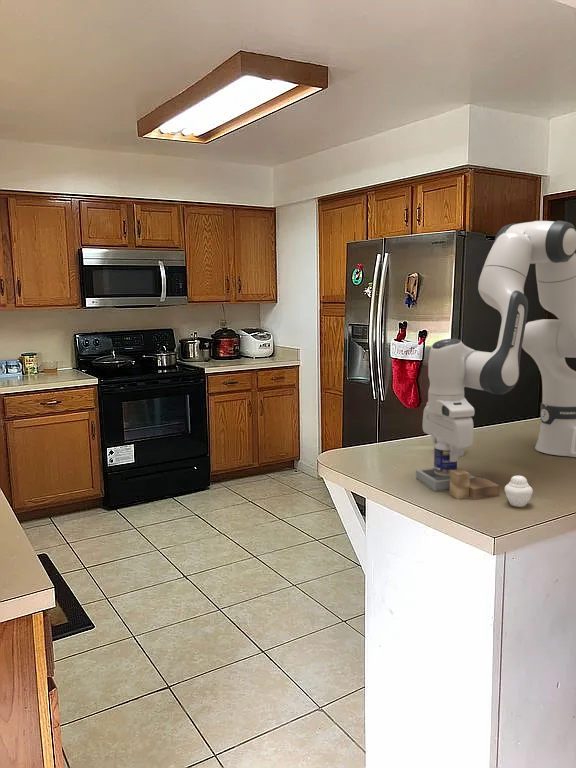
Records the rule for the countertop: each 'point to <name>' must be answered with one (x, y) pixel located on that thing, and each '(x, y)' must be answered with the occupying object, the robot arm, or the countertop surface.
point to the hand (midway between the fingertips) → (445, 457)
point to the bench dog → (459, 483)
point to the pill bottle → (442, 458)
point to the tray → (434, 480)
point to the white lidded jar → (518, 491)
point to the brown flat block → (482, 488)
